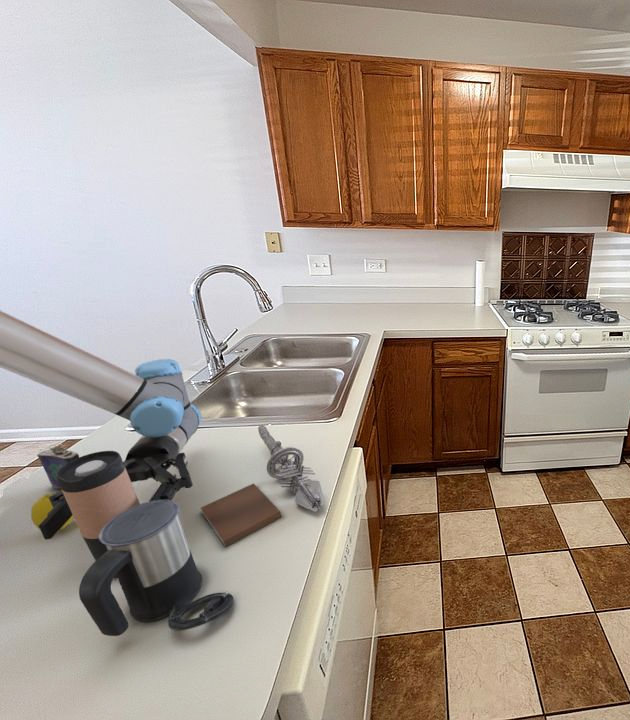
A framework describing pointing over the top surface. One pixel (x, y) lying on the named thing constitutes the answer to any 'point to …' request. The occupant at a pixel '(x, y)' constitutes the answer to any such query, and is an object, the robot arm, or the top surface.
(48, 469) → the flask
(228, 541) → the serving board
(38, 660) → the top surface
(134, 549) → the milk frother
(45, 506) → the lemon
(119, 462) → the travel mug
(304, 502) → the spaceship
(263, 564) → the top surface
